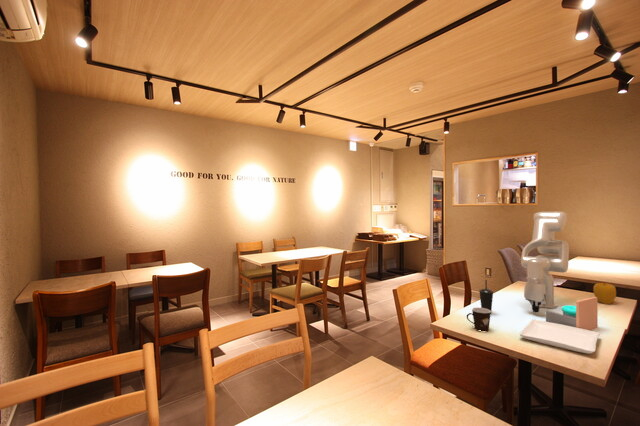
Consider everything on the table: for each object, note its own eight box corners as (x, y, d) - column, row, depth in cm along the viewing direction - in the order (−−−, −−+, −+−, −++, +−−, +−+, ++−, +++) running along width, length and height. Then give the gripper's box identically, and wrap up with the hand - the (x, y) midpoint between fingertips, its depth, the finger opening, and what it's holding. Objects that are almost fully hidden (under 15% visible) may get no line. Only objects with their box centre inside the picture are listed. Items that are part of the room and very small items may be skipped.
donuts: (575, 311, 156) (556, 305, 166) (575, 331, 156) (556, 323, 166) (591, 309, 158) (572, 304, 167) (591, 329, 158) (572, 322, 168)
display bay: (546, 323, 166) (545, 294, 166) (564, 318, 173) (564, 290, 172) (579, 334, 152) (578, 301, 152) (597, 328, 159) (597, 297, 159)
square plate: (600, 339, 147) (600, 331, 147) (594, 360, 128) (594, 351, 127) (532, 324, 166) (532, 317, 166) (518, 341, 147) (518, 332, 147)
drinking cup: (493, 312, 185) (492, 279, 185) (494, 316, 178) (494, 282, 178) (478, 310, 189) (478, 278, 188) (479, 314, 182) (479, 281, 181)
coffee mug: (489, 327, 163) (489, 308, 163) (492, 333, 155) (492, 313, 155) (465, 324, 167) (464, 306, 167) (467, 331, 159) (466, 311, 159)
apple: (593, 299, 206) (593, 280, 206) (616, 302, 199) (616, 282, 198) (592, 303, 198) (592, 283, 198) (616, 306, 191) (616, 285, 191)
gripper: (518, 278, 184) (518, 309, 184) (545, 284, 170) (545, 317, 171) (525, 277, 187) (526, 307, 188) (553, 282, 174) (553, 314, 174)
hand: (535, 311), depth 179 cm, fingers closed
